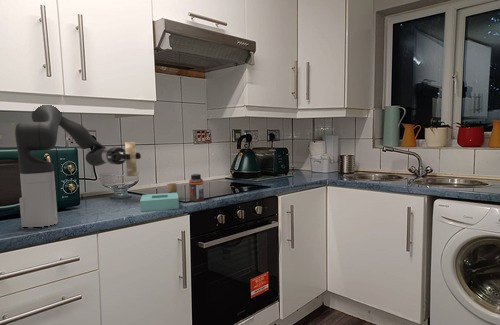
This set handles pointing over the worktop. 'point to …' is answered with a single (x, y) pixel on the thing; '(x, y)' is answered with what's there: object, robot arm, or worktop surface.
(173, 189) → the short peg
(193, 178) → the supplement bottle
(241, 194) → the worktop surface
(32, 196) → the robot arm
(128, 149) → the tall peg
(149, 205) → the socket block
